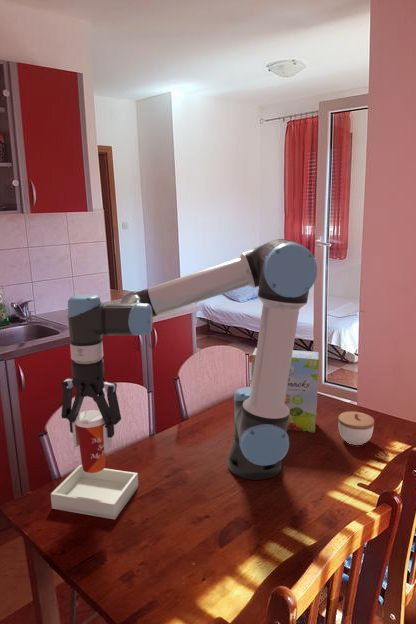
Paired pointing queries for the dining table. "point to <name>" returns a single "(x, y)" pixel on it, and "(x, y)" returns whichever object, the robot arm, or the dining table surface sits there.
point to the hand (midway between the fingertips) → (93, 446)
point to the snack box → (301, 390)
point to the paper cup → (91, 440)
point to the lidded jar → (355, 427)
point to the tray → (95, 492)
